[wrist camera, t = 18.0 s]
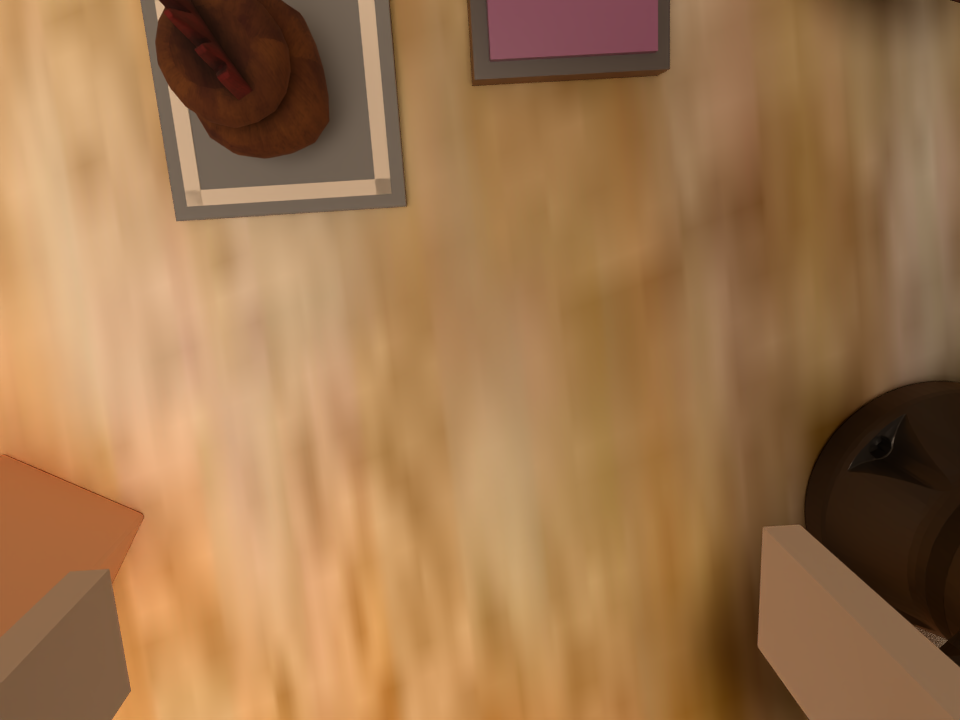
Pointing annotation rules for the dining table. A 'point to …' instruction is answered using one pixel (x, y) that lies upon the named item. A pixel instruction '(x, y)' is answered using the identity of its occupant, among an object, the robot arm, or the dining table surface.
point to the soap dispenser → (53, 535)
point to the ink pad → (567, 40)
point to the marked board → (318, 167)
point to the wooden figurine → (245, 73)
